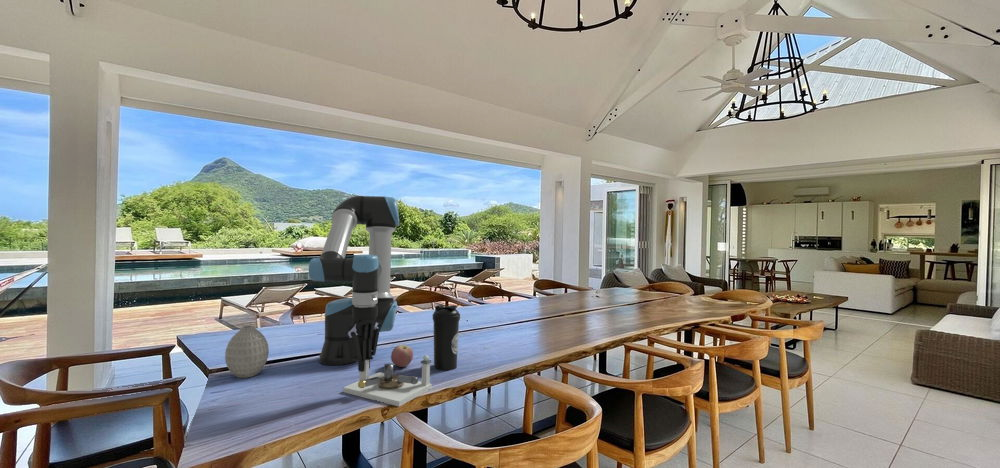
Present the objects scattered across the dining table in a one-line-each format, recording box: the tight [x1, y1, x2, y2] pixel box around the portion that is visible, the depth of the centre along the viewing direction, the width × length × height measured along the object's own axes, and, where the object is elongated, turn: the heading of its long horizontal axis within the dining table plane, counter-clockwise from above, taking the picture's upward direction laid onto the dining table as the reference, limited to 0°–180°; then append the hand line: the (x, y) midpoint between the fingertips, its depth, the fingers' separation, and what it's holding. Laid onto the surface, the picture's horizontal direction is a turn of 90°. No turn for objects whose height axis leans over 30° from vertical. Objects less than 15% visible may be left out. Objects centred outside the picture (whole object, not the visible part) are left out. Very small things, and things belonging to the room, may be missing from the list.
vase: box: [224, 324, 270, 379], centre depth 144 cm, size 13×13×17 cm
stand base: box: [343, 355, 433, 408], centre depth 133 cm, size 22×16×11 cm
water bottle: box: [432, 304, 461, 372], centre depth 157 cm, size 10×10×23 cm
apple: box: [390, 344, 414, 368], centre depth 156 cm, size 8×8×8 cm
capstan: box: [357, 362, 419, 389], centre depth 132 cm, size 16×18×6 cm
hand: (364, 380), depth 130 cm, fingers closed
